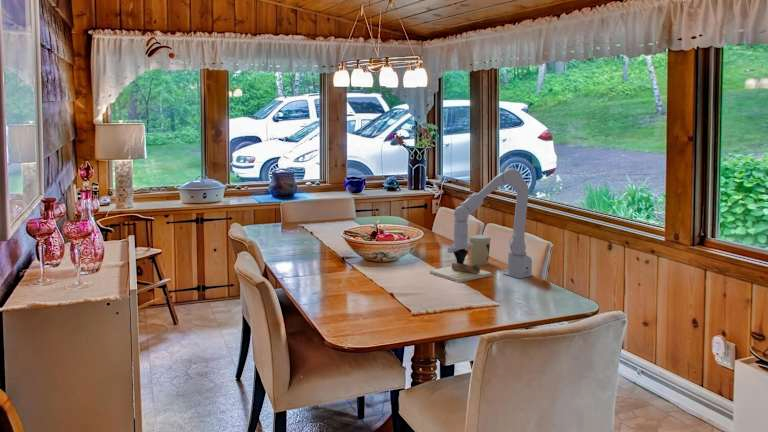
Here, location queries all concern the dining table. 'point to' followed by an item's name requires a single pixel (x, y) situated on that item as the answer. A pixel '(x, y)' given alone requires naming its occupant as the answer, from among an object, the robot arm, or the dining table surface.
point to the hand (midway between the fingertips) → (459, 267)
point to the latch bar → (466, 268)
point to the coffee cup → (479, 249)
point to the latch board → (459, 274)
